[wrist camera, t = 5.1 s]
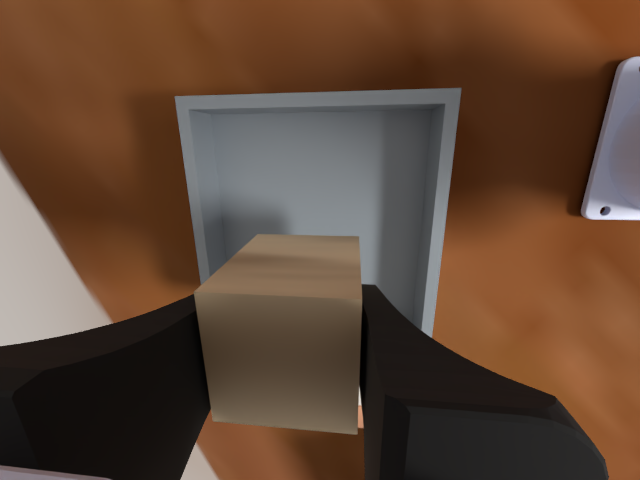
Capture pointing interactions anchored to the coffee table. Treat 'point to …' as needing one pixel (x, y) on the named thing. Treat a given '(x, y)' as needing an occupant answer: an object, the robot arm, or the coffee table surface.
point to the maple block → (285, 333)
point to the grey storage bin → (327, 179)
